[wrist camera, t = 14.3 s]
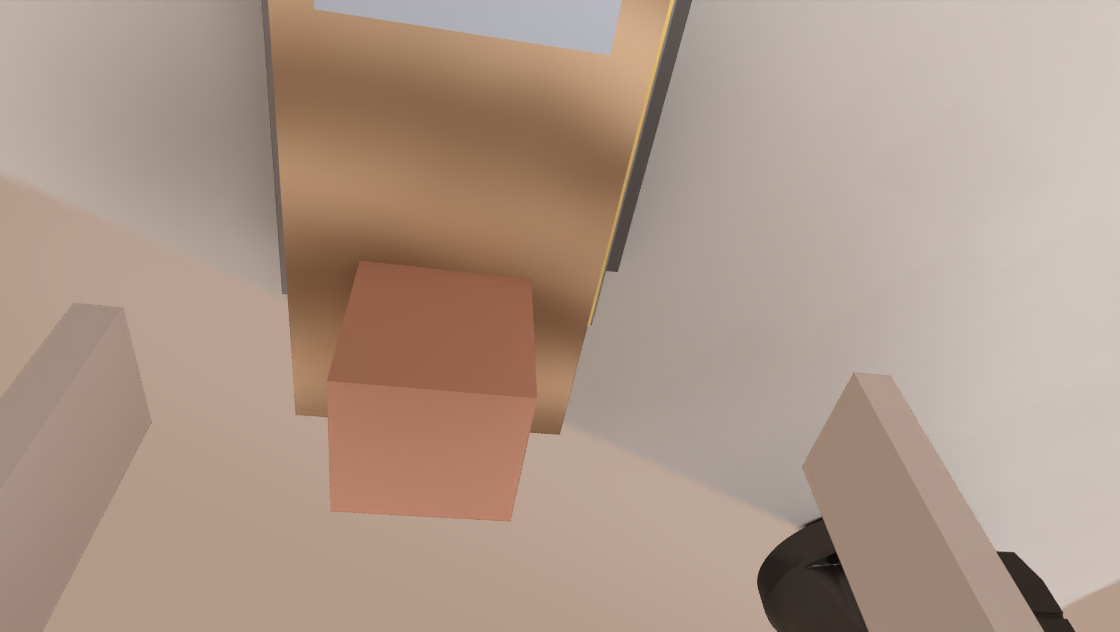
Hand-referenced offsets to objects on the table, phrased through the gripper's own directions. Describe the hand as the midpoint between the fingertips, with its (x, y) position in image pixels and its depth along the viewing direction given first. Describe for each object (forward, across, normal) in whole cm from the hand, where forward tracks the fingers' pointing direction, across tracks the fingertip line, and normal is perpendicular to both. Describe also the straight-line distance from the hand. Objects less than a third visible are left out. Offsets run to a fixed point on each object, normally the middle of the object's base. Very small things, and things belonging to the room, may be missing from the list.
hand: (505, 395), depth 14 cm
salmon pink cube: (+10, +2, +7) cm, 12 cm away
